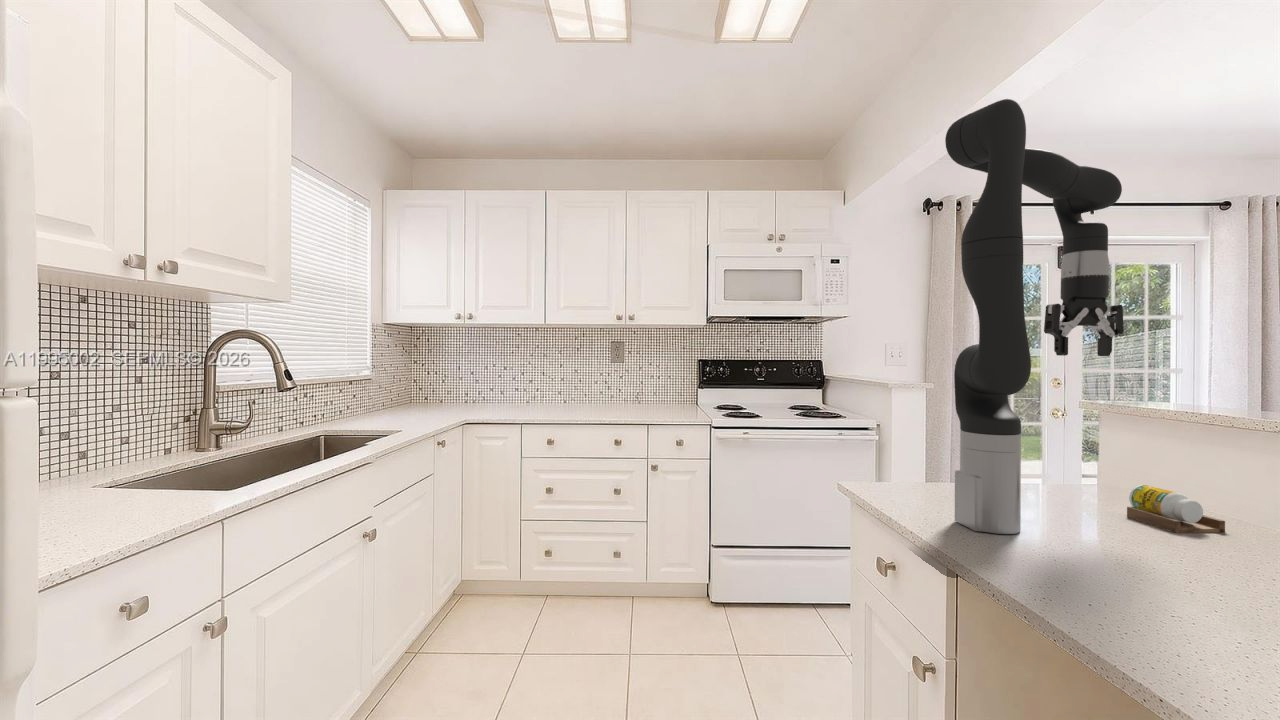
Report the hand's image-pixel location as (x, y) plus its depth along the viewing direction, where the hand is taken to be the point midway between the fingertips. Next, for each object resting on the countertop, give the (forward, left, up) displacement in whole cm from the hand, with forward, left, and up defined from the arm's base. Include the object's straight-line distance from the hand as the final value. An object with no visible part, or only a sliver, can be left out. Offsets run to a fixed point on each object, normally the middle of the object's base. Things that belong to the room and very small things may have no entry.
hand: (1082, 355), depth 108 cm
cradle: (+8, -10, -31) cm, 34 cm away
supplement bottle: (+8, -4, -28) cm, 29 cm away
